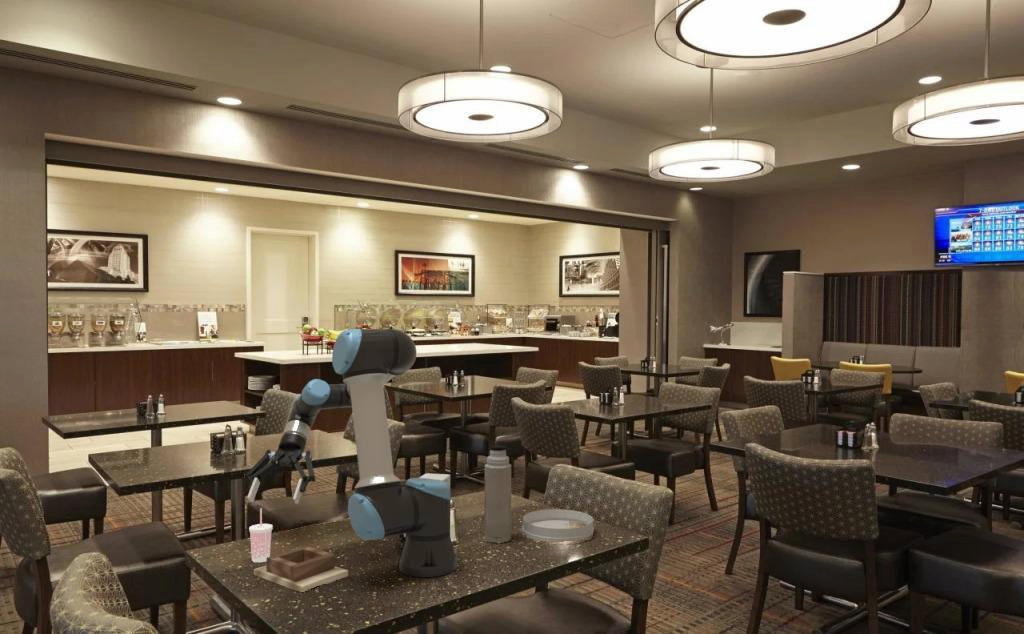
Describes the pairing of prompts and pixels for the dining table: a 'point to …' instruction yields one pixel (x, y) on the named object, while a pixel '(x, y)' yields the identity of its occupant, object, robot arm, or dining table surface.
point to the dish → (556, 525)
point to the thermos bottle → (497, 495)
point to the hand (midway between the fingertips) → (272, 500)
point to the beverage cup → (260, 540)
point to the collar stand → (301, 569)
